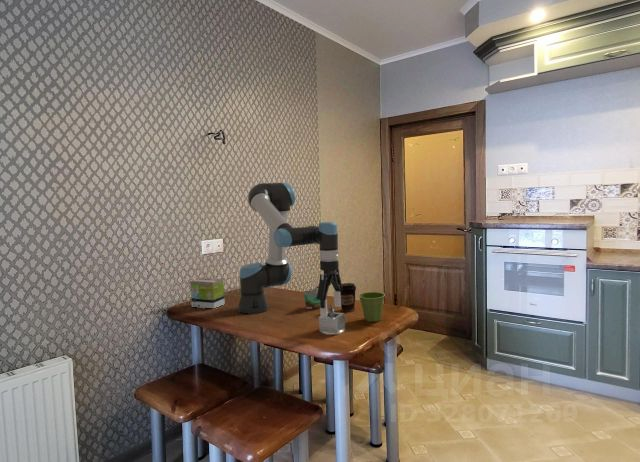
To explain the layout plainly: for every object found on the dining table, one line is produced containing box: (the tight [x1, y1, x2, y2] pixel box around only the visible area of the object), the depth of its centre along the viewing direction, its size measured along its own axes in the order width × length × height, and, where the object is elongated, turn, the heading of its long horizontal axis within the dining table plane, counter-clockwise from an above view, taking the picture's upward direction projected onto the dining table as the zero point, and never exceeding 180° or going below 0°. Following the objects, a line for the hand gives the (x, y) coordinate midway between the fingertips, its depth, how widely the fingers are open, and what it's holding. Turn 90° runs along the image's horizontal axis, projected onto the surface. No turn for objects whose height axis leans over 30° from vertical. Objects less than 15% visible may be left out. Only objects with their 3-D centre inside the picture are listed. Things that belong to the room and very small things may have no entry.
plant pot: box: [357, 291, 386, 323], centre depth 171 cm, size 12×12×11 cm
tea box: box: [189, 277, 226, 309], centre depth 209 cm, size 15×10×15 cm
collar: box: [318, 311, 346, 335], centre depth 159 cm, size 8×8×6 cm
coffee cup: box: [340, 282, 357, 313], centre depth 188 cm, size 9×8×13 cm
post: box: [320, 303, 346, 336], centre depth 159 cm, size 10×10×11 cm
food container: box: [303, 285, 320, 311], centre depth 195 cm, size 12×6×10 cm, turn 148°
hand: (331, 311), depth 159 cm, fingers open, 13 cm apart
